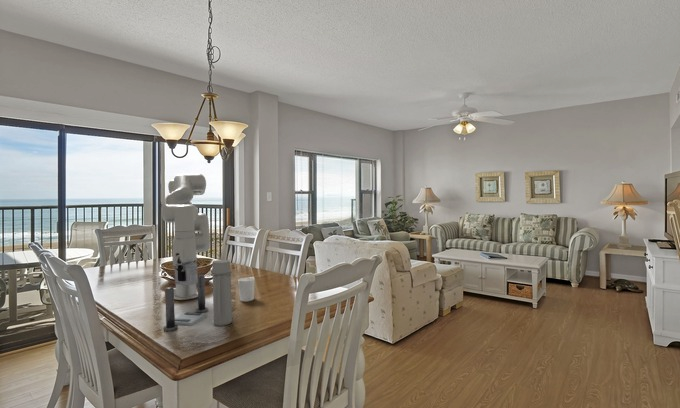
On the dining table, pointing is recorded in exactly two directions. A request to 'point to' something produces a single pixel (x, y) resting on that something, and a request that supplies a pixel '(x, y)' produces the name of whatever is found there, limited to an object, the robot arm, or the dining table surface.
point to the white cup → (246, 288)
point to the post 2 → (201, 295)
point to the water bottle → (222, 292)
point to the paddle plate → (189, 318)
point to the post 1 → (170, 310)
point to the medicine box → (188, 274)
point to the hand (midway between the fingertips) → (186, 278)
